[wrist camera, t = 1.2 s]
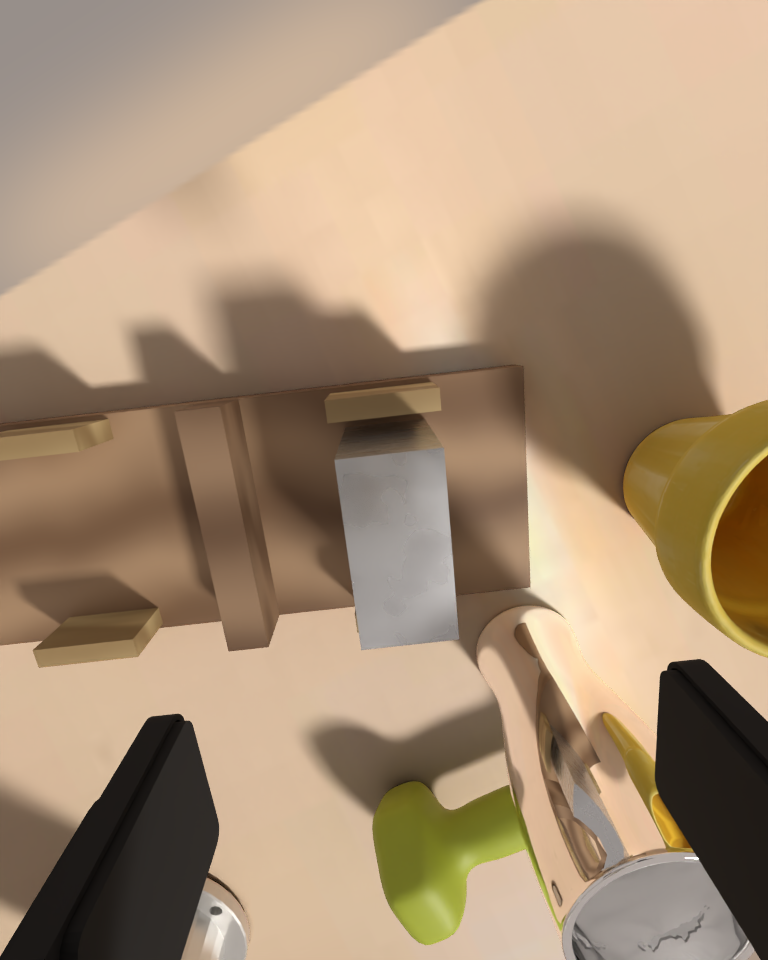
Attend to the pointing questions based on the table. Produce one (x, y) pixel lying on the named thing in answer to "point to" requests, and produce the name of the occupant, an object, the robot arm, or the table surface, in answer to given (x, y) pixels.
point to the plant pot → (709, 516)
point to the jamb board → (293, 449)
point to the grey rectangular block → (397, 533)
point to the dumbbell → (437, 853)
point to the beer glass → (596, 805)
